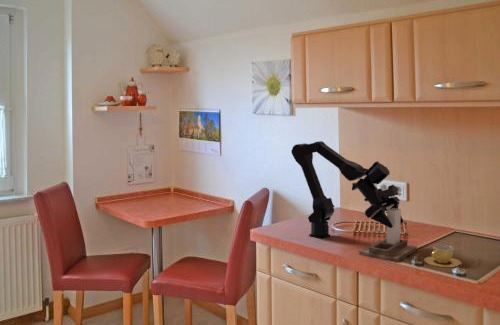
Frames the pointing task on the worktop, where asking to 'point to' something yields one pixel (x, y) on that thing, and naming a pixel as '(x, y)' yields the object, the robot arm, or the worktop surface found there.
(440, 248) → the cup
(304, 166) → the robot arm
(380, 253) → the rack
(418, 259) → the worktop surface
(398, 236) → the clay block
